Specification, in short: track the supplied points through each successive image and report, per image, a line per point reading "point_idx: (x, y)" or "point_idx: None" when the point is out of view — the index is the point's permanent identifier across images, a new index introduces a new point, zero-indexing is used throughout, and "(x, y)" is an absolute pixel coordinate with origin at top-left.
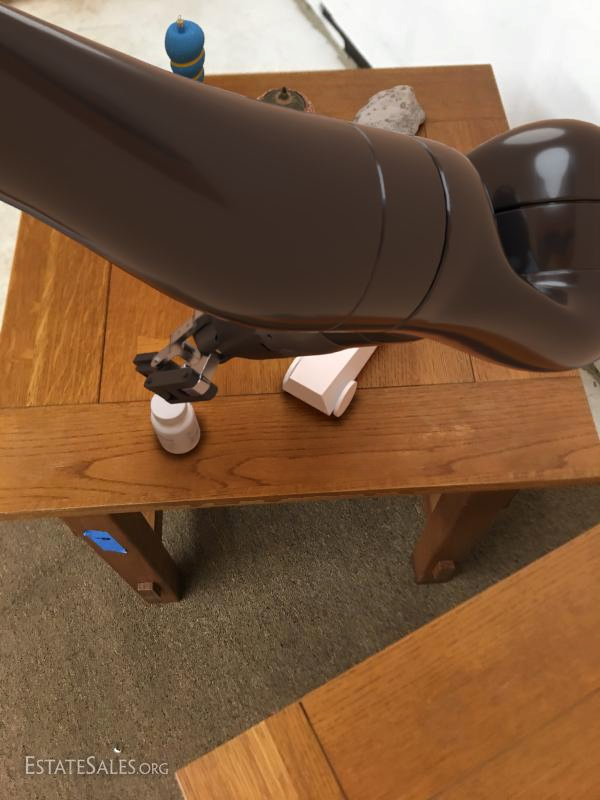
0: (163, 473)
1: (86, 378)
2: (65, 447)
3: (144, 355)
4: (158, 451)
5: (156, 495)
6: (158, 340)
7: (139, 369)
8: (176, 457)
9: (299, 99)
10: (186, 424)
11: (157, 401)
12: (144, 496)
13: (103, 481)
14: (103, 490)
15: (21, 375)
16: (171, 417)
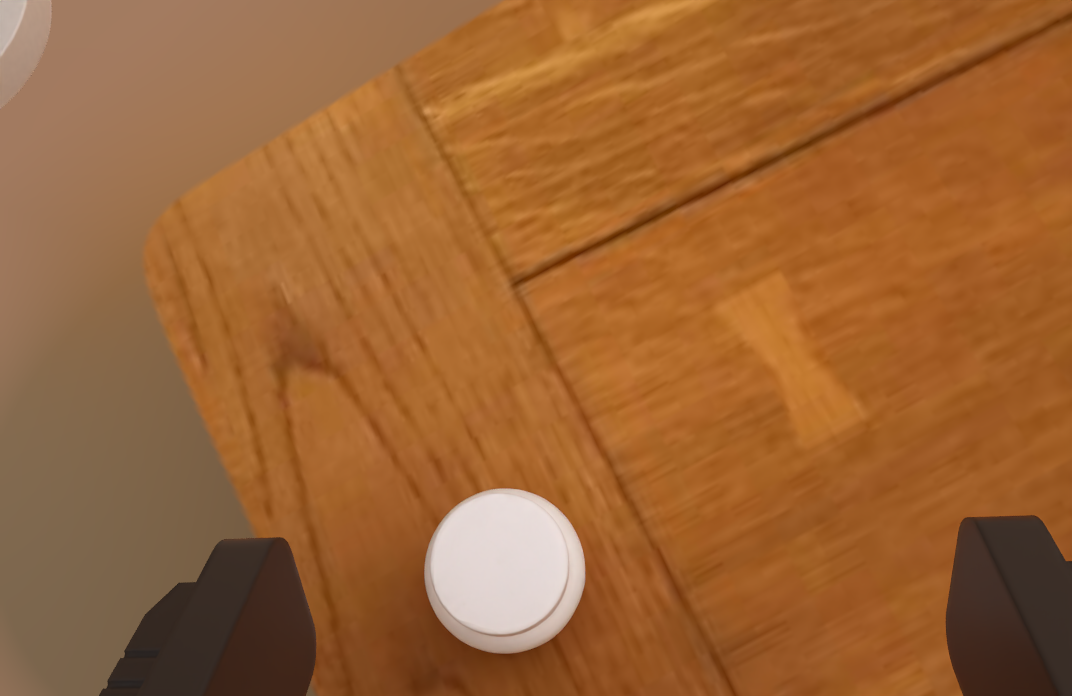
0: (372, 593)
1: (573, 209)
2: (344, 274)
3: (206, 641)
4: None
5: None
6: (798, 338)
7: (150, 631)
8: None
9: None
10: (484, 643)
11: (490, 519)
12: None
13: (284, 432)
14: (258, 447)
15: (503, 44)
16: (447, 606)
